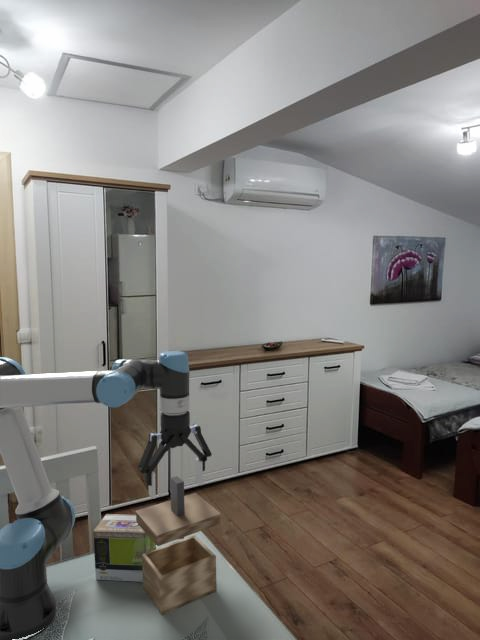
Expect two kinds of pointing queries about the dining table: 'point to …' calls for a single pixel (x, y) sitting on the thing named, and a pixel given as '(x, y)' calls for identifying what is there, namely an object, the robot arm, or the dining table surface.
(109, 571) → the tea box
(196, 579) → the wooden box
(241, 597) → the dining table surface
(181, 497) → the lid
